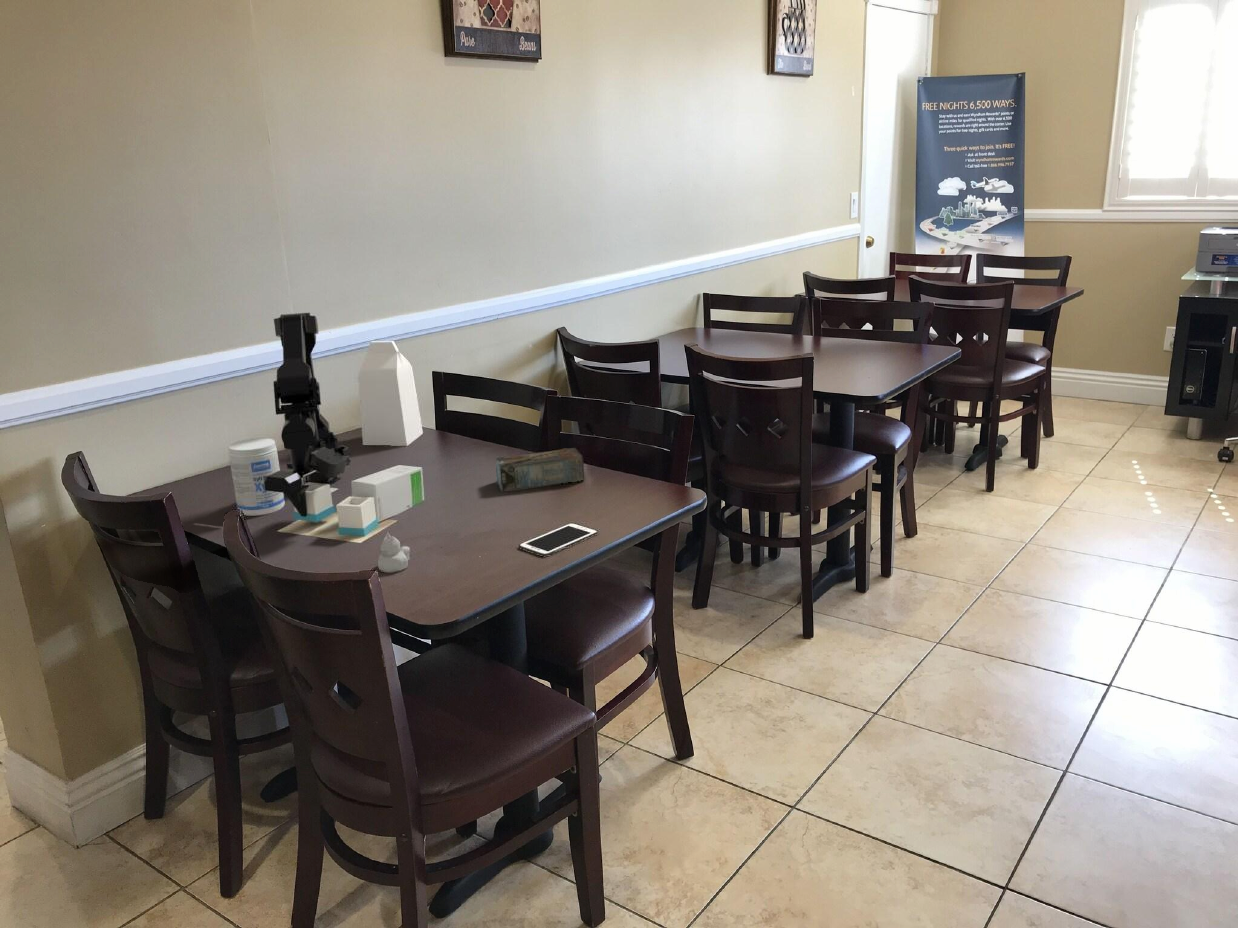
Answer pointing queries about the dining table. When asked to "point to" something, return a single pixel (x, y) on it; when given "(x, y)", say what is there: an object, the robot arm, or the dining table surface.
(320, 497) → the sleeve
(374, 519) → the sleeve
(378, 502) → the skincare box
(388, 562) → the white figurine
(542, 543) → the cell phone
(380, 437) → the milk
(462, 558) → the dining table surface
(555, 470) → the beverage carton
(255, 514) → the supplement tub
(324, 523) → the pin board
